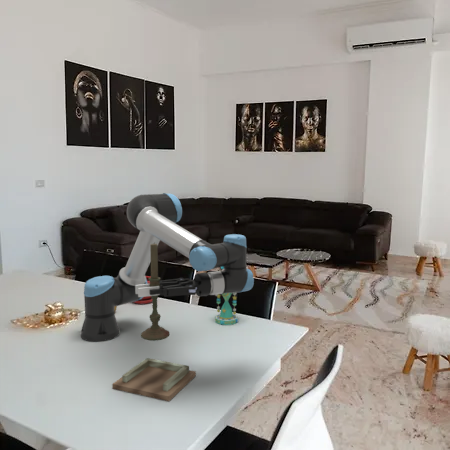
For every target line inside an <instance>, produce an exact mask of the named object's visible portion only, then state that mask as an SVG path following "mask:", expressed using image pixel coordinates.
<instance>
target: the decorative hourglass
mask: <svg viewBox="0 0 450 450" xmlns="http://www.w3.org/2000/svg"><path fill="white" fill-rule="evenodd" d="M220 269H221V270H224V266H222V267H220ZM237 293H238V292H235V293H224V294H218V296H216V297H217V298H216V304H217V305H218V306H216V309H217V310H216V312H217V313H219V314H217V315H215V317H214V320H215V324H218V325H222V326H224V325H225V326H230V325H235V324H237V323H238V321H239V318H238V316H237V315H236V314H237V312H236V311H237V308H235V307H236V306H237V302H238V301H237V298H238V297H237V296H236V295H237ZM232 295H233V296H232ZM221 296H222V297H223V299H224V303H223V304H222V306H219V304H220V305H221V303H222V302H221ZM231 296H232V301H231V302H232V303H231V304H232V306H234V308H232V306H231V305H230V303H229V300H230V298H231Z"/></svg>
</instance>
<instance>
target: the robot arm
mask: <svg viewBox="0 0 450 450" xmlns="http://www.w3.org/2000/svg"><path fill="white" fill-rule="evenodd" d="M182 216H183V207H182V204H181V201H180V199H179V198H178V197H177V196H176V195H175V194H172V193H166V192H163V193H154V194H151V193H149V194H140V195H137V196H135V197H133V198H132V199H130V201H129V203H128V204H127V207H126V217H127V220H128V222H129V224H131V225H132V226H133V227H134V228H135V229H137V230H139V234H138V236H137V238H136V241H135V242H134V243H135V244H134V245H133V248H132V250H131V253H130V255H129V257H128V260H127V262H126V265H125V267H122V268H121V269H120V270H119V272H118V275H117V276H116V277H113V276H112V275H111V276H110V275H102V276H101V275H99V276H94V277H92V278H89V279H88V280H86V281H85V283H84V286H83V297H84V320H83V323H82V326H81V330H80V337H81V339H83V340H85V341H88V342H104V341H109V340H113V339H114V338H116V337H119V335H120V326H119V324H118V321H117V318H116V315H115V314H116V313H115V312H116V311H115V306H117V307H119V306H122V305H126V304H129V303H130V304H131V303H134V302H136V301H138V300H140V299H142V298H143V297H146V296H156V295H158V296H163V297H164V298H166V297H178V296H195V295H196V296H197V297H207V296H215V297H217V296H218V294H219V295H222V294H224V293H232V294H233V293H235V292H236V293H242V292H248V291H250V290H252V289H253V287H254V284H255V283H254V282H255V279H254V273H253V272H252V270H251V269H249V268H247V247H248V246H247V238H246V236H245V235H242V234H239V233H238V234H236V233H232V234H226V235H224V237H223V242H221V243H220V242H219V243H214V244H211V243H209V242H207V241H206V240H204V239H202V238H200V237H199V236H197V235H196V234H193V233H192V232H190V231H188V230H187V229H185V228H184V227H183V226H180V225H179V224H177V223H179V221H181V219H182ZM154 242H155V244H157V247H158V246H159V243H160V242H162V243H164V244H165V245H167V246H169V247H170V248H172V249H174V250H175V251H176V252H178V253H180V254H181V255H183V256H185V257H186V258H187V259H188V260H189V264H190V265H191V267H192V269H193V270H195V271H197V273H195V275H194V278H193V279H191V278H184V277H179V278H173V279H165V280H164V279H163V280H160V281H159V284H160V286H154V287H150V286H149V284H148V283H147V280H146V276H147V275H146V273H147V271H148V268H149V266H150V265H151V251H150V244H154ZM222 266H224V269H223V270H220V271H219V270H218V271H210V270H214V269H218V268H221V267H222Z"/></svg>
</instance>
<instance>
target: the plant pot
mask: <svg viewBox="0 0 450 450" xmlns="http://www.w3.org/2000/svg"><path fill="white" fill-rule="evenodd" d="M145 276H146V280H147V283H148V284H150V281H149V280H148V278H150V277H151V275H150V276H148V275H145ZM133 303H135V304H138V305H145V304H149V303H152V297H151V296H146V297H143V298H142V299H140V300H138V301H136V302H133Z"/></svg>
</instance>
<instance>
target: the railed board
mask: <svg viewBox="0 0 450 450" xmlns="http://www.w3.org/2000/svg"><path fill="white" fill-rule="evenodd" d="M196 375H197V371H196V370H190V365H185V364H180V363H176V362H175V363H174V362H171V361H165V360H159V359H156V358H154V359H153V358H151V357H150V358H149V357H146V358H145V359H143V360H142V361H141V362H139V363H138V364H137V365H135V366H134V367H133V368H131V369H129V370H128V371H126V372H125V373H124V374H123V375H122V377H120V378H119V379H117V380H116V381H114V382H113V383H112V384H111V386H112V387H111V388H112V389H113V390H117V391H122V392H124V393H125V392H126V393H130V394H134V395H140V396H144V397H148V398H153V399H156V400H161V401H165V402H170V401H171V400H172V399H173V398H174V397H175V396H176V395H178V394H179V393H180V392H181V391H182V390H183V389H184V388H185V387H186V386H187V385H188V384H190V382H192V380H193V379H194V378H196Z"/></svg>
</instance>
